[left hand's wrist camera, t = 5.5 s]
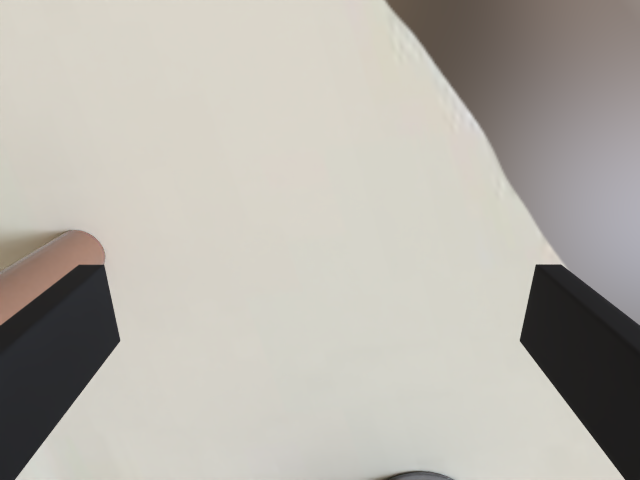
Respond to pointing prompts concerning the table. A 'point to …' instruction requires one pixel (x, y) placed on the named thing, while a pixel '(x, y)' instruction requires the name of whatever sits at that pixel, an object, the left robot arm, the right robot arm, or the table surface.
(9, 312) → the jar
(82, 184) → the table surface
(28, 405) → the left robot arm
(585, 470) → the table surface
